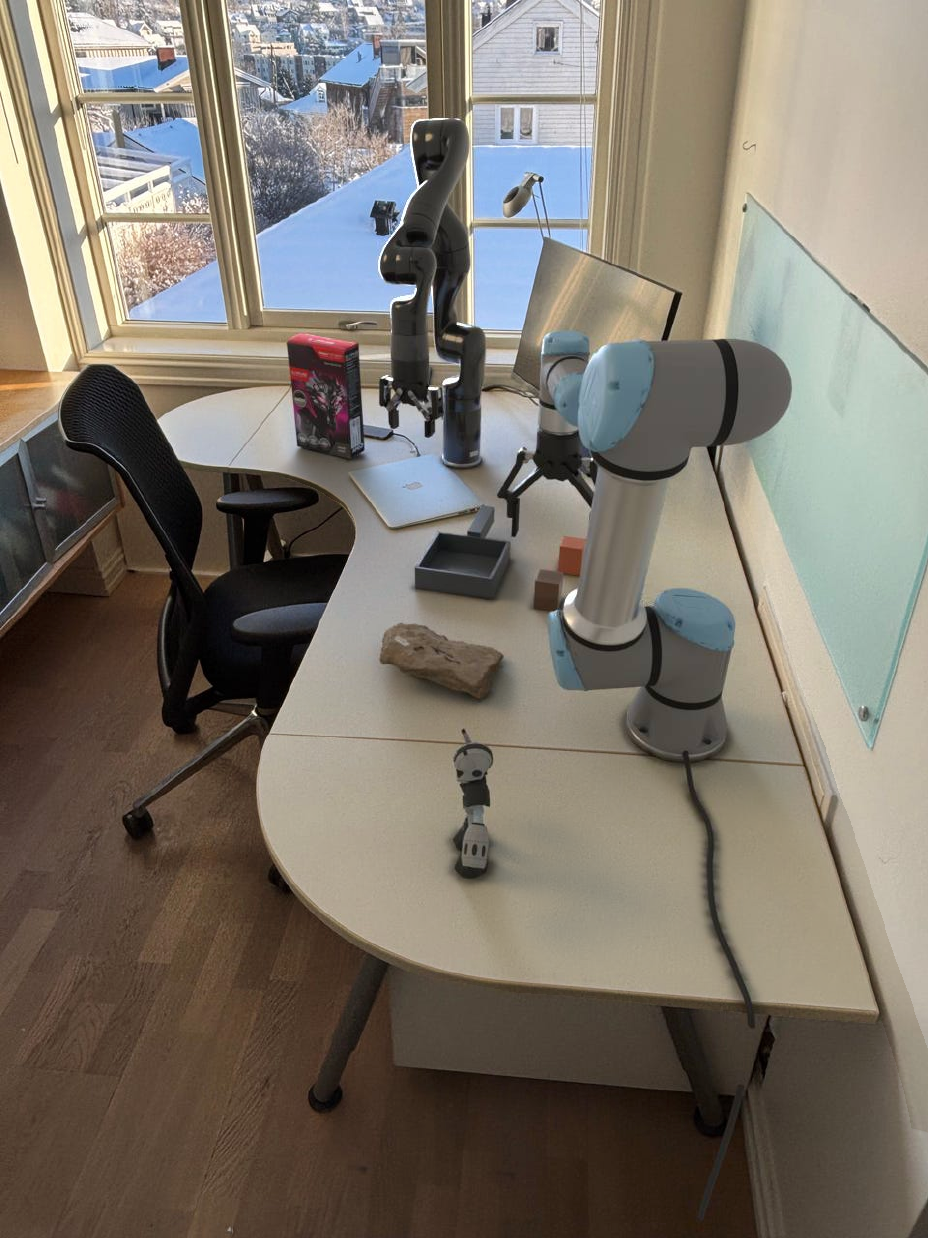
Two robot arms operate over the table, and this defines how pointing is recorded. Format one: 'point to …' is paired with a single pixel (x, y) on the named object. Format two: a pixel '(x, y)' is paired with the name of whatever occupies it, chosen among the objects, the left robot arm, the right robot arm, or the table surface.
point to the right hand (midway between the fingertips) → (551, 538)
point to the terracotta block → (571, 555)
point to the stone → (440, 658)
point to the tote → (465, 560)
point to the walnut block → (548, 590)
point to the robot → (473, 807)
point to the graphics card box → (326, 394)
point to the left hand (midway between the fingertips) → (411, 432)
